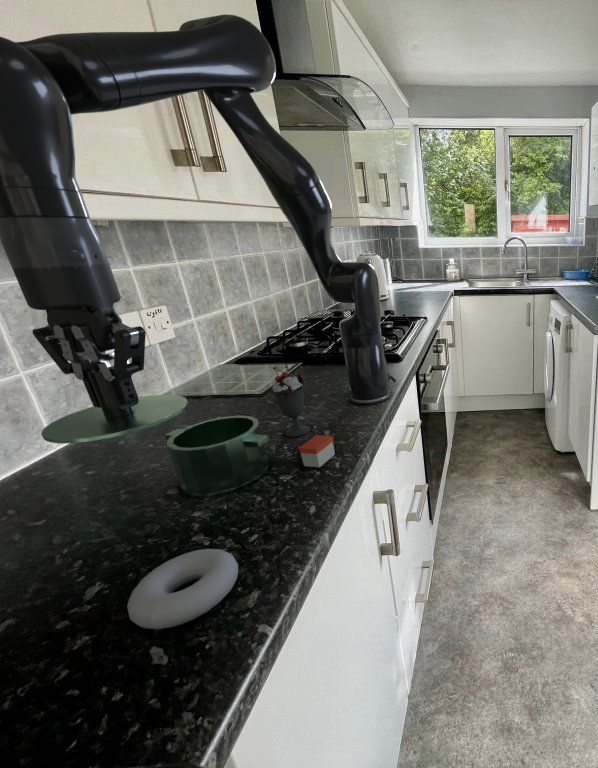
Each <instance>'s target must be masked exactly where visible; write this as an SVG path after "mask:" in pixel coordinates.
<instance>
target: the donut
mask: <svg viewBox="0 0 598 768" xmlns="http://www.w3.org/2000/svg"><path fill="white" fill-rule="evenodd" d="M238 575H239V563H238V562H237V560H236V558H235V557H234V555H233V554H231V553H229V552H227V551H226V550H223V549H217V548H204V549H203V548H202V549H197V550H193V551H189V552H186V553H183V554H181V555H178V556H176V557H174V558H171V559H169V560H167V561H165V562H164V563H162V564H160V565H159V566H157V567H156V568H154V569H153V570H152V571H150V572H149V573H148V574H146V575H145V576H144V577H143V578H142V579H141V580H140V581H139V583H138V584H137V585H136V587H135V588H133V590H132V591H131V594H130V597H129V599H128V602H127V605H126V609H127V613H128V616H129V620H130V621H131V622H132V623H134V624H135V625H136V626H139V627H140V628H143V629H148V630H162V629H168V628H174V627H179V626H180V625H183V624H186V623H188V622H192V621H193V620H195V619H197V618H198V617H199V618H200V616H202V615H204V614H206V613H208V612H210V610H212V609H213V608H214V607H216V606H217V605H218V604H220V602H221V601H222V600H224V598H226V596H227V595H228V594H229V593H230V592H231V591H232V589H233V588H234V585H235V584H236V581H237V580H238ZM193 581H196V582H194V583H193V584H192V585H190V586H188V587H186V588H184V589H181V590H179V591H176V590H178V589H179V588H181V587H182V586H184V585H187V584H188V583H191V582H193Z"/></svg>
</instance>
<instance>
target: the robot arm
mask: <svg viewBox="0 0 598 768" xmlns="http://www.w3.org/2000/svg"><path fill="white" fill-rule="evenodd" d="M276 73H277V63H276V59H275V55H274V52H273V50H272V48H271V45H270V43H269V42H268V40H267V38H266V37H265V36H264V34H263V32H262V31H261V30H260V29H259V28H258V27H257V26H256V25H255V24H253V23H252V22H251V21H249V20H248V19H247V18H244V17H242V16H238V15H235V14H219V15H213V16H207V17H202V18H197V19H191V20H187V21H186V22H183V23H182V24H181V25H180V26H179V29H178V30H168V31H167V30H166V31H165V30H164V31H99V32H98V31H92V32H91V31H90V32H72V33H71V32H70V33H68V32H67V33H57V34H56V33H55V34H50V35H46V36H45V35H44V36H41V37H38V38H35V39H30V40H24V41H14V40H11V39H9V38H6V37H3V36H0V243H1V245H2V247H3V248H2V249H3V250H4V253H5V255H6V257H7V259H8V262H9V264H10V267H11V269H12V272H13V274H14V276H15V278H16V281H17V283H18V286H19V288H20V290H21V293H22V295H23V297H24V300H25V302H26V304H27V306H28V307H29V308H31V309H33V310H36V311H37V310H38V311H45V312H46V323H47V325H45V326H42V327H38V328H33V329H32V335H33V337H34V338H35V339H36V340H37V342H38V343H39V344H40V345H41V347H42V348H43V350H44V351H45V352H46V353H47V354H48V356H49V357H50V358H51V359H52V360H53V362H54V363H55V364H56V366H57V367H58V369H60V371H61V372H62V373H63V374H64V375H70V374H71V375H72V374H73V375H74V376H75V378H76V379H78V380H79V381H82V382H83V385H84V387H85V389H86V392H87V395H88V397H89V400H90V402H91V404H92V407H98V408H101V406H100V404H99V401H98V399H97V396H96V394H95V391H94V389H93V386H92V384H91V381H90V379H89V376H88V374H87V371H89V370H91V369H95V368H100V370H101V372H102V374H103V376H104V378H105V379H106V380H107V381H106V383H107V386H108V389H109V391H110V394H111V396H112V399H113V402H114V404H115V407H116V408H118V409H126V408H129V407H132V406H134V405H137V404H138V402H139V400H138V397H139V396H138V393H137V390H136V388H135V384H134V382H133V379H132V377H133V375H134V374H136V373H138V372H141V371H144V369H145V355H146V353H145V351H146V329H145V328H144V327H143V326H140V325H138V326H134V327H131V326H129V325H127V324H124V323H123V320H122V318H121V316H120V315H119V314H118V312H117V311H116V310H115V308H114V304H116V303H119V302H120V300H121V298H122V297H121V296H122V295H121V293H120V290H119V288H118V284H117V282H116V279H115V276H114V274H113V270H112V268H111V264H110V262H109V259H108V255H107V253H106V249H105V247H104V244H103V241H102V239H101V237H100V235H99V232H98V231H97V229H96V227H95V226H94V224H93V221H92V219H91V216H90V213H89V210H88V208H87V204H86V201H85V199H84V196H83V193H82V190H81V187H80V185H79V183H78V180H77V176H76V150H75V137H74V126H73V119H72V116H73V115H79V114H96V113H97V114H98V113H99V114H100V113H107V112H114V111H119V110H124V109H129V108H134V107H140V106H143V105H144V106H145V105H147V104H152V103H155V102H160V101H163V100H167V99H171V98H175V97H180V96H183V95H187V94H191V93H196V92H200V91H202V92H203V93H204V94H205V95H206V97H207V99H208V100H209V101H210V103H211V104H212V105H213V106H214V108H215V109H216V111H217V112H218V114H219V115H220V116H221V118H222V119H223V120H224V122H225V123H226V125H227V126H228V127H229V129H230V130H231V132H232V133H233V134H234V136H235V138H236V139H237V141H238V142H239V143H240V145H241V147H242V148H243V150H244V152H245V153H246V154H247V156H248V158H249V159H250V161H251V162H252V164H253V166H254V167H255V168H256V170H257V172H258V173H259V175H260V177H261V179H262V180H263V182H264V184H265V185H266V188H267V189H268V191H269V192H270V194H271V196H272V197H273V200H274V201H275V203H276V204H277V206H278V208H279V209H280V211H281V213H282V214H283V215H284V217H285V219H286V220H287V222H288V223H289V225H290V226H291V228H292V229H293V231H294V233H295V234H296V237H297V238H298V240H299V242H300V244H301V246H302V247H303V249H304V251H305V253H306V254H307V257H308V258H309V260H310V263H311V264H312V267H313V268H314V271H315V273H316V276H317V277H318V280H319V281H320V283H321V286H322V287H323V289H324V291H325V292H326V294H327V296H329V298H331V299H332V301H334V302H336V303H340V304H354V313H353V314H352V315H351V316H349V317H345V318H344V319H342V320H340V322H339V323H338V324H339V327H338V328H339V332H340V338H341V339H340V340H341V345H342V350H343V356H344V357H343V358H344V362H345V369H346V374H347V380H348V383H347V388H348V389H349V392H350V401H351V402H352V403H354V404H356V405H372V404H373V405H374V404H378V403H380V402H381V403H382V402H383V401H386V400H387V399H389V398H390V397H391V388H390V382H391V381H392V382H393V383H396V382H397V379H396V378H395V377H393V376H392V375H390V372H389V371H388V367H387V359H386V357H385V350H384V349H385V348H384V343H383V337H382V336H383V335H382V328H381V322H382V321H381V319H382V308H381V296H380V295H381V294H380V285H379V283H380V282H379V278H378V275H377V272H376V270H375V268H374V267H373V265H372V264H370V263H369V262H364V261H342V260H341V258H340V257H339V255H338V253H337V252H336V250H335V248H334V246H333V243H332V239H331V230H332V219H333V206H332V202H331V199H330V196H329V194H328V191H327V190H326V188H325V185H324V184H323V182H322V180H321V178H320V176H319V174H318V173H317V171H316V169H315V167H314V166H313V164H311V162H310V161H309V160H308V159H307V158H306V157H305V156H304V155H303V154H302V153H301V152H300V151H299V150H298V149H297V148H296V147H295V146H293V145H292V144H291V143H290V142H289V141H288V140H286V139H285V137H283V136H282V135H281V134H280V133H279V132H278V131H277V130H276V129H275V128H274V126H272V124H271V123H270V122H269V121H268V120H267V118H266V116H264V114H263V113H262V111H261V109H260V107H259V105H258V104H257V103H256V101H255V99H254V98H253V96H252V94H256V93H260V92H263V91H265V90H267V89H268V88H269V87H271V85H272V84H273V82H274V81H275V78H276ZM108 351H112V352H108ZM106 352H107V353H106ZM130 359H131V361H129V360H130ZM112 360H113V365H112V364H111V361H112ZM112 366H114V369H113V368H112Z"/></svg>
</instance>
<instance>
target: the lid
mask: <svg viewBox="0 0 598 768" xmlns="http://www.w3.org/2000/svg"><path fill="white" fill-rule="evenodd" d="M111 366H112V368H113V369H114V365H111ZM87 374H88V376H89V379H90V381H91V384H92V386H93V389H94V391H95V394H96V396H97V399H98V401H99V404H100V406H101V408H98V407H94V406H91V407H87V408H84V409H81V410H78V411H75V412H72V413H70V414H67V415H65V416H63V417H60V418H58V419H56V420H54V421H53V422H51V423H49V424H47V425H46V426H44V428H43V429H42V431H41V433H40V434H41V437H42V439H43V440H44V441H45V442H49V443H53V444H62V445H63V444H79V443H89V442H95V441H102V440H106V439H113V438H117V437H121V436H124V435H128V434H132V433H136V432H140V431H144V430H147V429H149V428H152V427H155V426H157V425H160V424H162V423H166V422H167V421H170V420H171V419H173V418H175V417H178V416H179V415H180V414H182V413H183V412H184V411H185V410H187V408H188V407H189V402H188V399H187V397H185V396H182V395H178V394H152V395H141V396H138V400H139V402H138V404H137V405H134V406H132V407H129V408H126V409H118V408H116V407H115V404H114V402H113V399H112V396H111V394H110V391H109V389H108V386H107V383H106V381H107V380H106V379H105V378H104V376H103V374H102V372H101V370H100V368H95V369H91V370H89V371H87Z"/></svg>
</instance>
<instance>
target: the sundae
mask: <svg viewBox="0 0 598 768" xmlns="http://www.w3.org/2000/svg"><path fill="white" fill-rule="evenodd" d="M272 370H275V372H276V377H274V380H275V382H274V383H273V385H272V387H270V388H269V393H270V394H271V395H274V396H275V398H276V401H277V404H278V405H279V408H280V411H281V412H282V414H283V415H285V416H286V417H288V418H291V420H292V427H291V428H289V429H287V430H286V431H285V433H284V435H285V436H287V437H288V438H289V437H290V438H295V437H300V436H303V435H306V434H308V433H310V431H311V429H312V428H311V427H310V426H308V425H301V423H300V419H299V416H300V415H301V414H302V413H303V411H304V410H305V398H304V397H305V396H304V388H305V387H306V385H307V383H305V382H304V381H305V379H304V376H303V375H302V373H299V374H298V375H297V376H296V375H294V374H292V373H288V372H287V371H282V370H280V369H279V368H278V367H277V366H274V367H272ZM278 371H279V372H281V375H279V372H278Z"/></svg>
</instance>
